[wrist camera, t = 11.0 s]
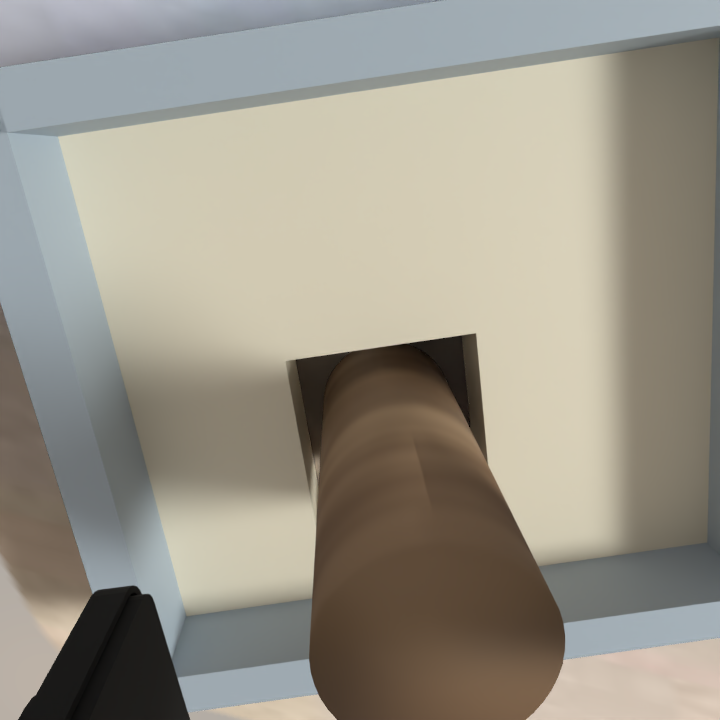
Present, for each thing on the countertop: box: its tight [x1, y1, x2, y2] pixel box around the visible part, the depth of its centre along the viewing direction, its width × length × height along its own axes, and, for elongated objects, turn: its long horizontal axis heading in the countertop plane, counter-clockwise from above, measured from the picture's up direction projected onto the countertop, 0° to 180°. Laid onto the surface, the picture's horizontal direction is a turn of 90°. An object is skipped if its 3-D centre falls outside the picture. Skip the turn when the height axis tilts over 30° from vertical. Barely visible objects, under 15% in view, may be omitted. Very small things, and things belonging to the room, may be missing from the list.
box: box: [0, 0, 720, 712], centre depth 18 cm, size 16×18×5 cm
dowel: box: [309, 344, 565, 720], centre depth 15 cm, size 4×4×11 cm
